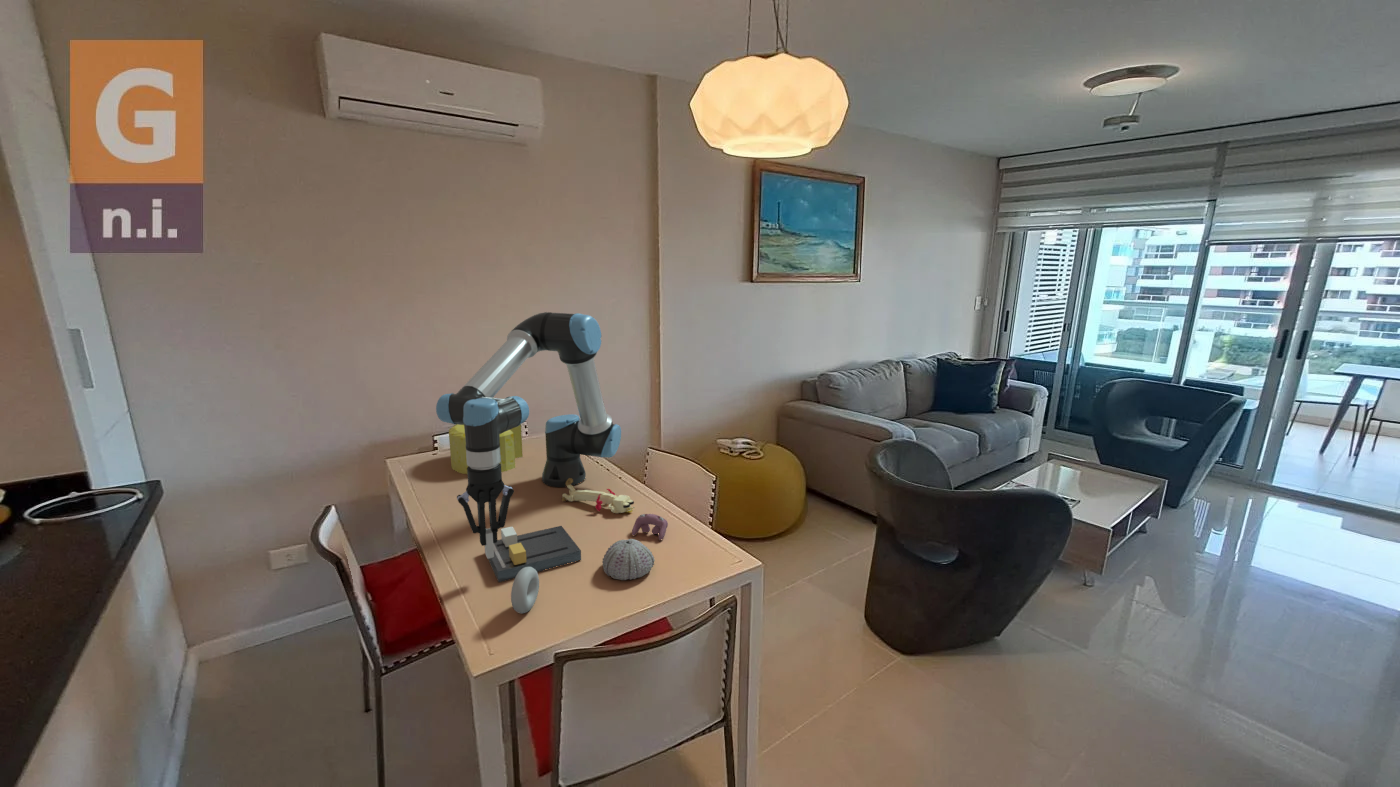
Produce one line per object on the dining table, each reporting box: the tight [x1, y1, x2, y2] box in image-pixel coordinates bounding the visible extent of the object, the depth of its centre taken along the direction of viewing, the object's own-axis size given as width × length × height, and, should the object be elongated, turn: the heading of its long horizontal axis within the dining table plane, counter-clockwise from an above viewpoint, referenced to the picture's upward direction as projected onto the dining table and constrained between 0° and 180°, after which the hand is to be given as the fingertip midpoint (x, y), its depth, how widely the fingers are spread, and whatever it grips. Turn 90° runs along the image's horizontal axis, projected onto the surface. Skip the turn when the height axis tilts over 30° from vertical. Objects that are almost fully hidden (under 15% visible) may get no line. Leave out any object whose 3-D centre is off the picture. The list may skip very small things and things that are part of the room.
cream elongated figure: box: [561, 478, 636, 514], centre depth 180 cm, size 10×9×25 cm
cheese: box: [448, 424, 524, 475], centre depth 214 cm, size 26×26×15 cm
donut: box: [510, 567, 540, 614], centre depth 126 cm, size 10×3×10 cm, turn 173°
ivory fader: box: [500, 526, 518, 547], centre depth 150 cm, size 3×5×3 cm, turn 32°
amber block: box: [509, 543, 526, 565], centre depth 141 cm, size 3×5×3 cm, turn 32°
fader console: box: [487, 525, 582, 583], centre depth 149 cm, size 21×16×3 cm
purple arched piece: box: [631, 513, 669, 541], centre depth 162 cm, size 10×5×7 cm, turn 73°
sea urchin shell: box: [601, 538, 656, 581], centre depth 143 cm, size 13×14×8 cm
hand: (489, 555), depth 137 cm, fingers closed
